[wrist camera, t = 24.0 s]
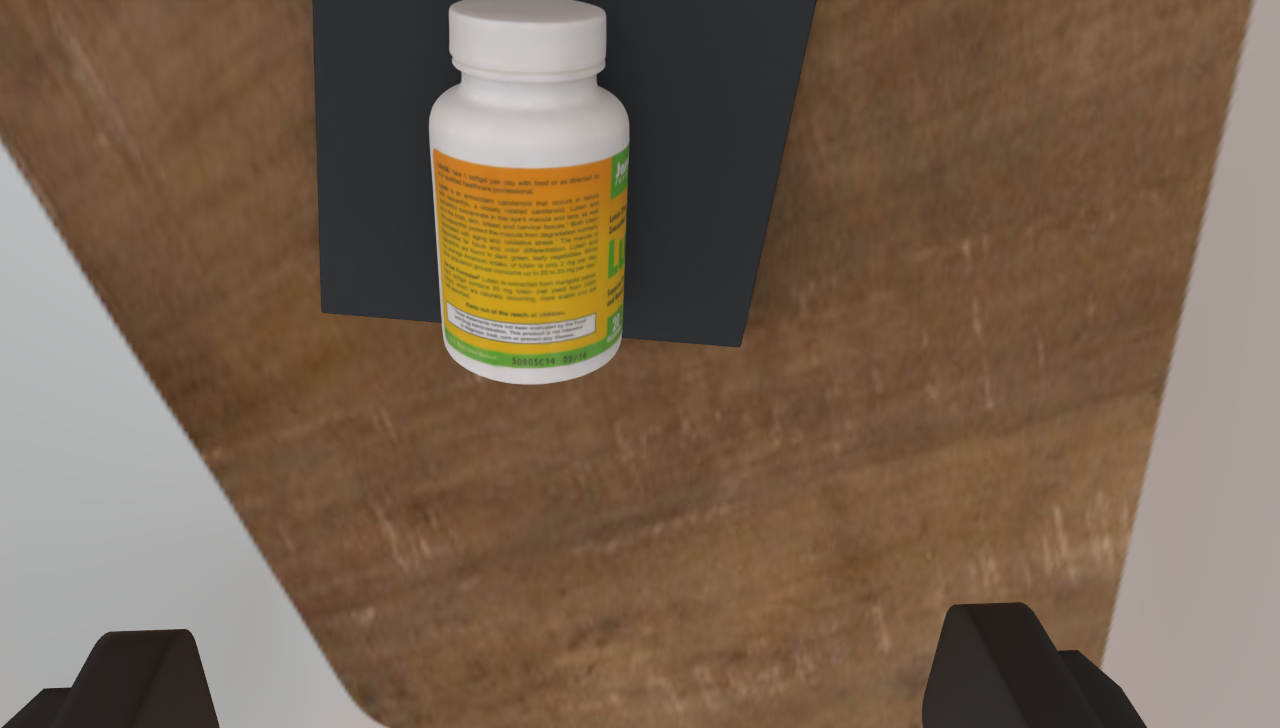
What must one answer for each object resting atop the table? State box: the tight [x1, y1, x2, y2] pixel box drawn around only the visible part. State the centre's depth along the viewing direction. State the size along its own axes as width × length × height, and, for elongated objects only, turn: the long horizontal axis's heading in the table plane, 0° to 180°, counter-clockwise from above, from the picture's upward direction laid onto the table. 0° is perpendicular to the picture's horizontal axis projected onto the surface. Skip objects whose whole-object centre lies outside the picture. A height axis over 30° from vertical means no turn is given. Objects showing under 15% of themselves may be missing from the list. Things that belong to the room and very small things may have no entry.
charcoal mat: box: [313, 0, 817, 347], centre depth 29 cm, size 14×14×1 cm
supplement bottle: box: [429, 0, 629, 384], centre depth 26 cm, size 5×5×10 cm
